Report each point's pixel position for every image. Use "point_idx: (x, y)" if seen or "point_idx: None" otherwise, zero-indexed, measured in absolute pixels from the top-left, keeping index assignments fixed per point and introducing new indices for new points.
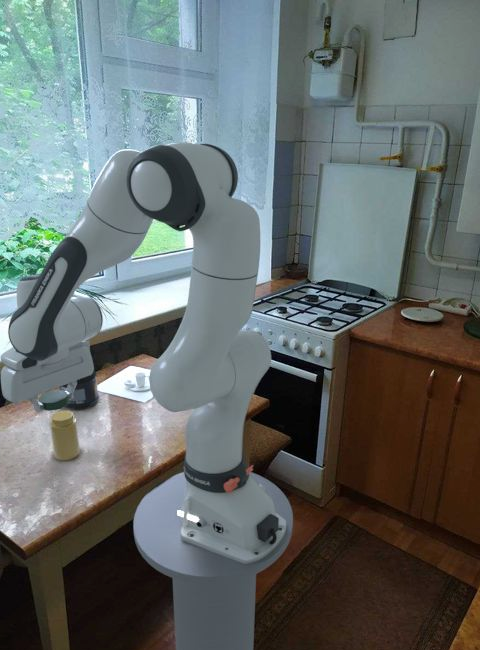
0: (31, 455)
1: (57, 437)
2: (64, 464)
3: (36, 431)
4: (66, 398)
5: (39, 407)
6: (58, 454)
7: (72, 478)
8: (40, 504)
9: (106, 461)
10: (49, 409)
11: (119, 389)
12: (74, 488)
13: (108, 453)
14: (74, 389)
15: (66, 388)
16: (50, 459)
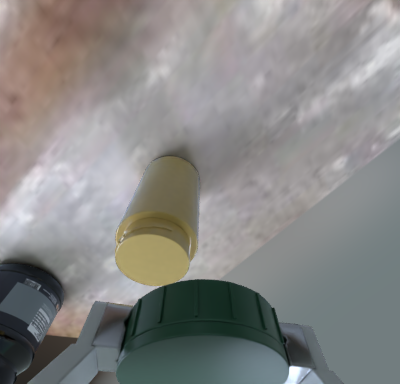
0: (215, 233)
1: (197, 213)
2: (206, 157)
3: None
4: (168, 327)
5: (316, 355)
6: (199, 186)
7: (244, 94)
8: (363, 84)
9: (137, 66)
10: (273, 312)
11: None
12: (279, 52)
13: (107, 92)
14: (56, 359)
15: (33, 332)
16: (207, 195)
